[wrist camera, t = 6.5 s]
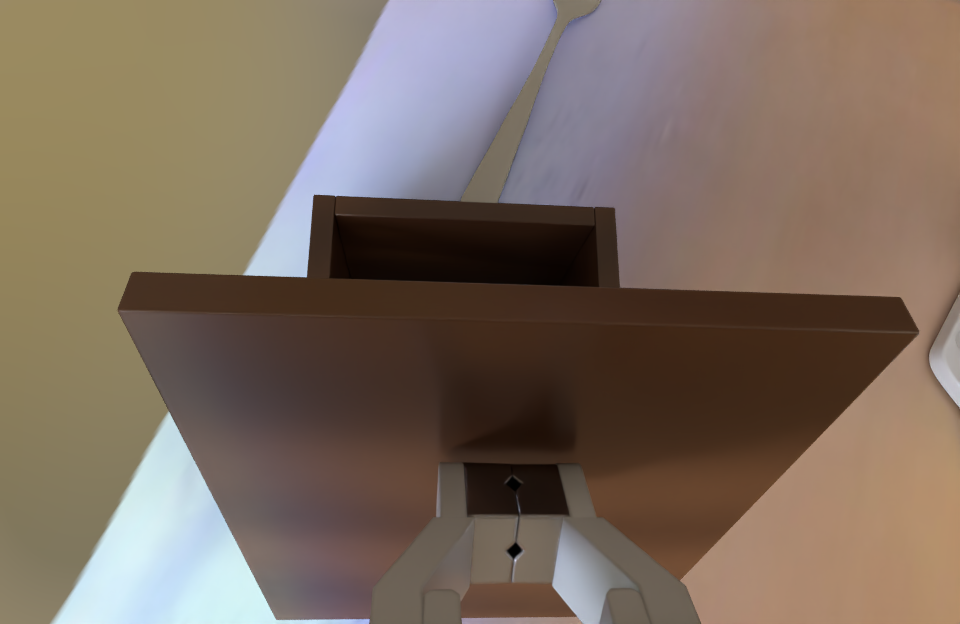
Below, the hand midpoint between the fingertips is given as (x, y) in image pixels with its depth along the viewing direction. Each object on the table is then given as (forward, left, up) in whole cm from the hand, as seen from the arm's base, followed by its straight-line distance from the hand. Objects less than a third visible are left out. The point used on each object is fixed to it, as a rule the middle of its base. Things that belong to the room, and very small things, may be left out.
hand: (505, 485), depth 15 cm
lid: (0, 0, -3) cm, 3 cm away
